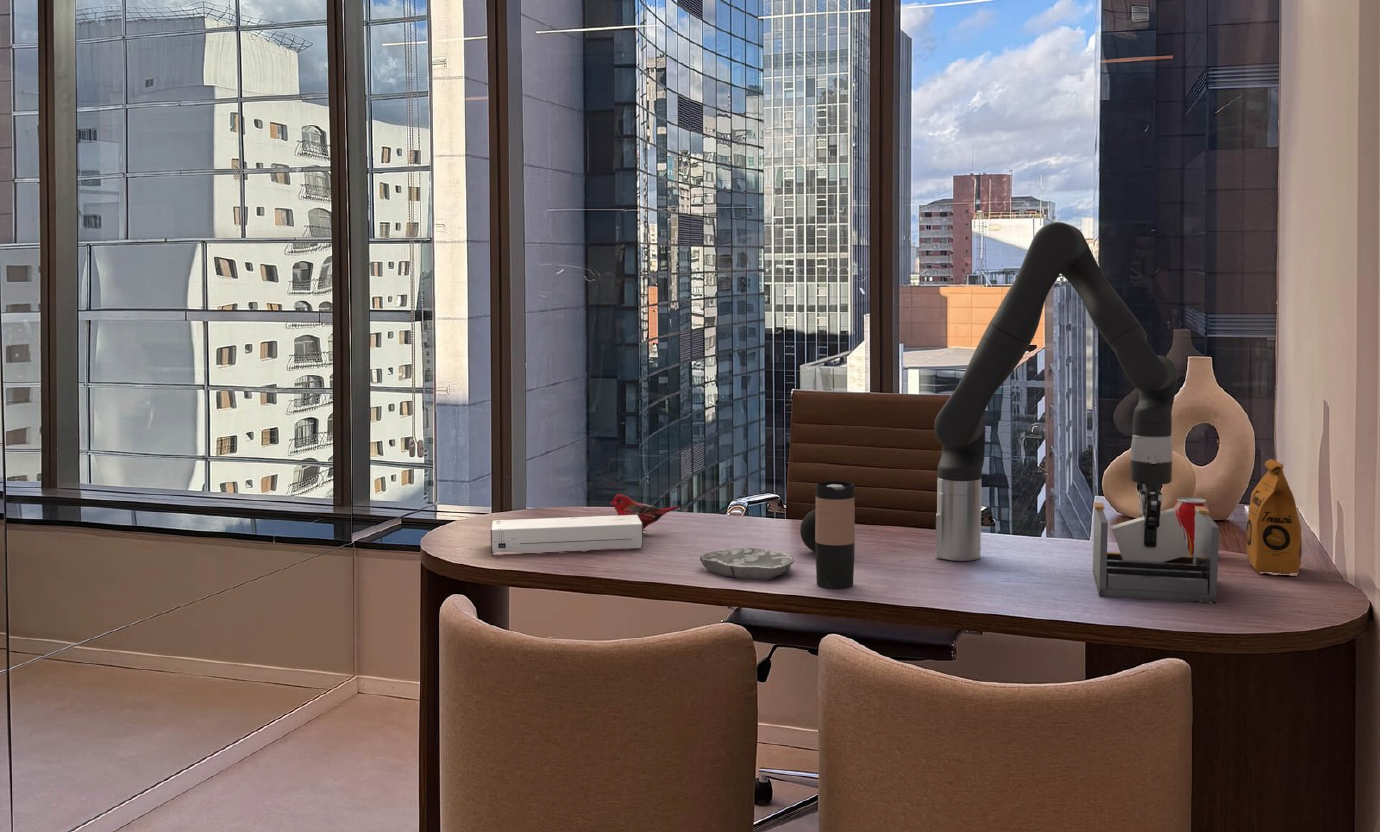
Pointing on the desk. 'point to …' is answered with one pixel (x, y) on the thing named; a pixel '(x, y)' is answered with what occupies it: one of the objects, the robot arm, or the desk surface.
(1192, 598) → the rack
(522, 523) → the laminator
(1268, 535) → the coffee package
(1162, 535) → the panel
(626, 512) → the decorative bird figurine
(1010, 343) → the robot arm
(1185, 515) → the soda can
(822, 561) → the travel mug
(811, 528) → the speaker
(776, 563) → the brain slice
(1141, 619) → the desk surface
